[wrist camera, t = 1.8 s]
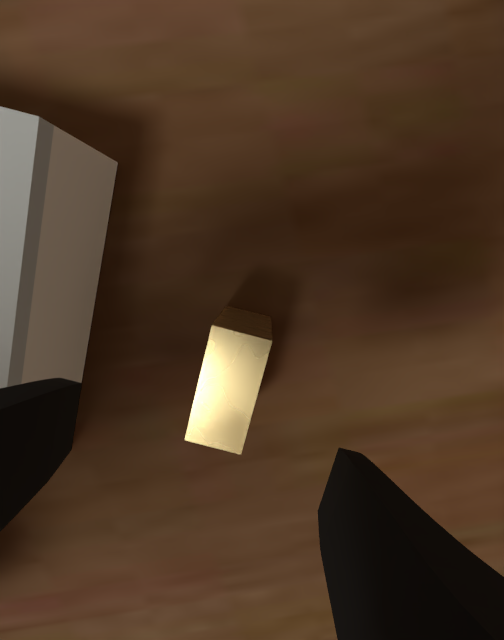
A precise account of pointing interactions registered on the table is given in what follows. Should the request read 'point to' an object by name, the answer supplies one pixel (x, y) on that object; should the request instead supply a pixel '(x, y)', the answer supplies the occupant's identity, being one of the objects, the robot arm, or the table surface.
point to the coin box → (48, 247)
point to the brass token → (230, 379)
